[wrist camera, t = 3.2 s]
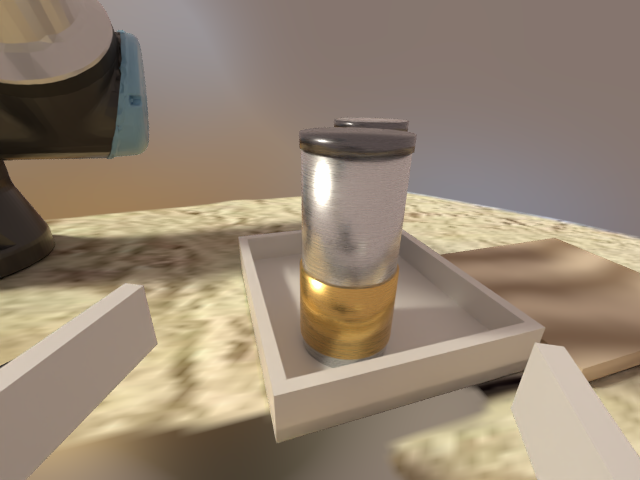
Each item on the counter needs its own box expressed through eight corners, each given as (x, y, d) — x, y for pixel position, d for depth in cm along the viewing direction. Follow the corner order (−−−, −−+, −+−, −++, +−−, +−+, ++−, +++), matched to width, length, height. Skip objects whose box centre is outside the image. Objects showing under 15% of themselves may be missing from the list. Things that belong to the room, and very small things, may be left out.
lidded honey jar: (291, 318, 25) (286, 127, 19) (365, 304, 27) (381, 126, 21) (315, 381, 19) (319, 141, 14) (406, 359, 21) (443, 138, 15)
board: (426, 268, 34) (428, 256, 34) (551, 249, 40) (554, 237, 39) (574, 386, 21) (583, 368, 20) (736, 332, 26) (746, 317, 25)
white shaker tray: (241, 266, 34) (238, 236, 33) (386, 247, 39) (390, 220, 38) (276, 443, 17) (273, 396, 15) (529, 368, 22) (545, 327, 20)
